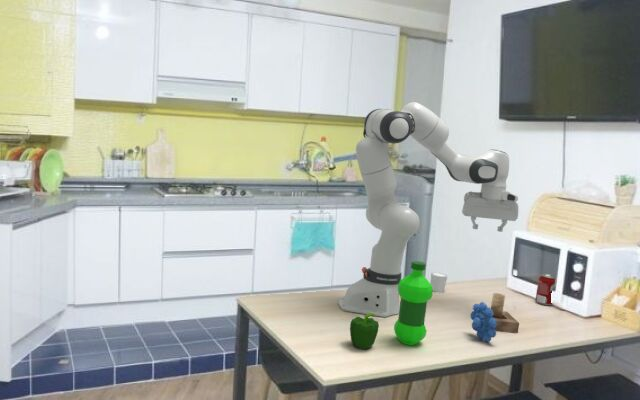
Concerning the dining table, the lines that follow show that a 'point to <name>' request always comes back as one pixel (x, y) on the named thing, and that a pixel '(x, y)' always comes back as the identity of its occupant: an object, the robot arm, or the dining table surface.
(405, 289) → the plastic bottle
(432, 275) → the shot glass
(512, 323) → the wooden tray
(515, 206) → the robot arm
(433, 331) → the dining table surface
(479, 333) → the grapes
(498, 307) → the oak peg
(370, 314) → the bell pepper
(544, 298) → the soda can
